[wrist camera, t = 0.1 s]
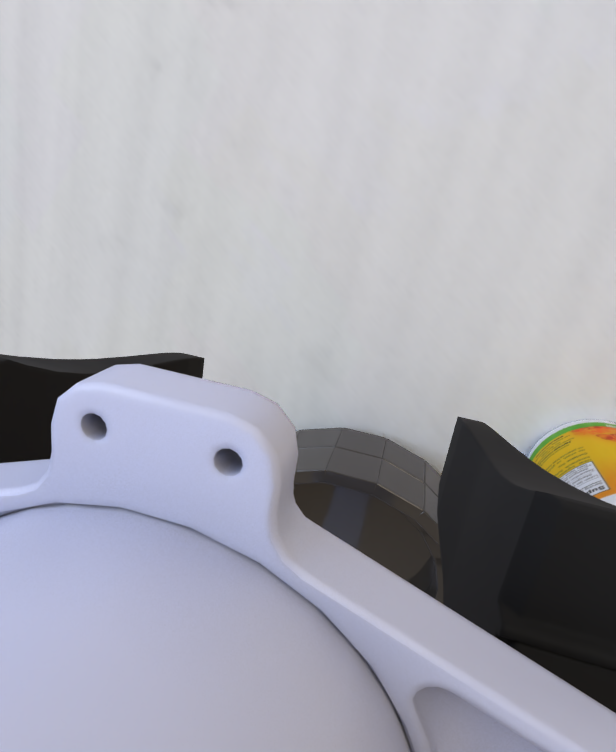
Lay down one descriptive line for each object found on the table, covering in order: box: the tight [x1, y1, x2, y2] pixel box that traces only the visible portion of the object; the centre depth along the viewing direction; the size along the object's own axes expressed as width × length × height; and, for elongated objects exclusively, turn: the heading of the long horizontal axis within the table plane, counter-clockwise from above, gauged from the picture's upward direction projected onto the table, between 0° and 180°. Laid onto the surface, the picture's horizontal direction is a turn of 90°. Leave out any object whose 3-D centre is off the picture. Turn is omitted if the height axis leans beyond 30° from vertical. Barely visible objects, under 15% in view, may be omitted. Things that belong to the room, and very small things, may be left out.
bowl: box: [293, 428, 443, 604], centre depth 24 cm, size 13×13×5 cm
